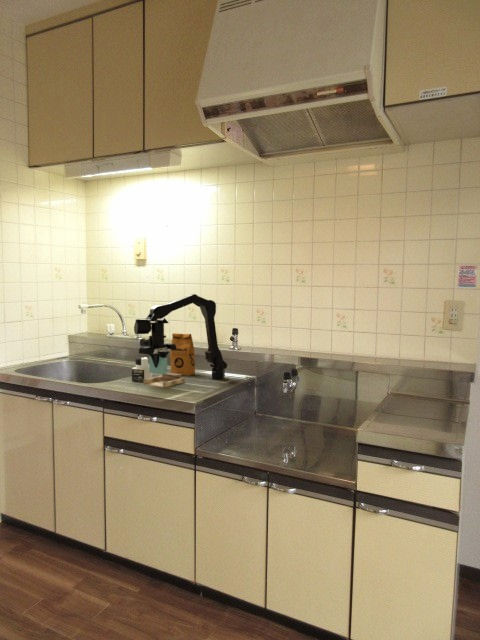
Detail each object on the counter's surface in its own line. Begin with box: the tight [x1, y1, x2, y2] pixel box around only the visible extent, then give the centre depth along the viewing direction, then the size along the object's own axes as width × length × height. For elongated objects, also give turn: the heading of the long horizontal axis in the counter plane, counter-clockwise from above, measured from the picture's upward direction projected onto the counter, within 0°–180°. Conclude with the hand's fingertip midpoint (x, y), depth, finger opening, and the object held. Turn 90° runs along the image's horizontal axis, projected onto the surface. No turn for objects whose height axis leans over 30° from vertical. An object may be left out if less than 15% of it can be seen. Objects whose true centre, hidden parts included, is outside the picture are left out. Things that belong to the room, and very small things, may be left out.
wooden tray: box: [143, 375, 186, 388], centre depth 217 cm, size 14×13×3 cm
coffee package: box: [169, 332, 196, 377], centre depth 239 cm, size 10×12×22 cm
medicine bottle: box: [131, 356, 153, 383], centre depth 223 cm, size 7×7×12 cm
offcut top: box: [161, 372, 182, 379], centre depth 220 cm, size 4×8×2 cm, turn 60°
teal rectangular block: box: [148, 356, 168, 375], centre depth 213 cm, size 2×9×7 cm, turn 56°
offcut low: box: [161, 377, 180, 382], centre depth 220 cm, size 4×9×2 cm, turn 56°
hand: (158, 367), depth 213 cm, fingers closed on teal rectangular block, 2 cm apart
